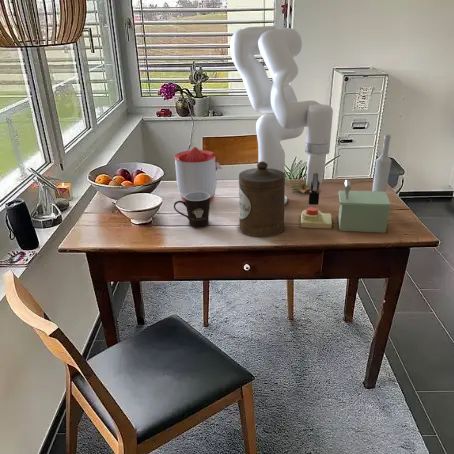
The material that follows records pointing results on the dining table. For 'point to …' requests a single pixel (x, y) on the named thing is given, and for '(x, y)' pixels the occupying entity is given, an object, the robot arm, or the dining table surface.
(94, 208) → the dining table surface
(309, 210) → the button
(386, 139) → the bottle
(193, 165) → the citrus juicer
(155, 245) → the dining table surface
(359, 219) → the compartment
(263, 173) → the wooden container
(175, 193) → the dining table surface
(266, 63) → the robot arm
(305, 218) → the control block
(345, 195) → the lid
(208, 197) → the coffee mug
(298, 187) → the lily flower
